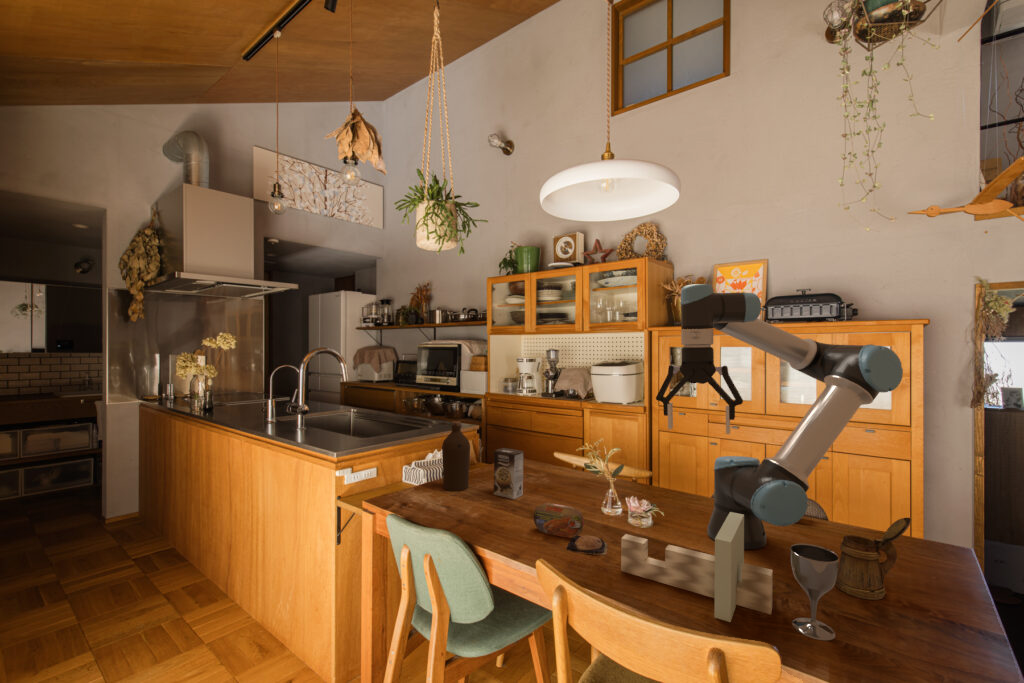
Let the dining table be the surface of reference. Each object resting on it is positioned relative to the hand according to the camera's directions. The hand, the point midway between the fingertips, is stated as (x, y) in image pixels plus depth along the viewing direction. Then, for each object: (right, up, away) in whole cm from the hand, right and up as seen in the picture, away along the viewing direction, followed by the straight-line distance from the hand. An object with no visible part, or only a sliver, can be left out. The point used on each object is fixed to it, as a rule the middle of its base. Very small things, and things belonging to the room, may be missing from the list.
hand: (698, 430), depth 117 cm
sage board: (0, -34, -16) cm, 37 cm away
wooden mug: (+34, -34, -13) cm, 50 cm away
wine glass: (+12, -34, -26) cm, 44 cm away
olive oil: (-68, -33, +60) cm, 97 cm away
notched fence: (-6, -34, -12) cm, 36 cm away
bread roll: (-26, -34, +9) cm, 44 cm away
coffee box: (-48, -33, +51) cm, 78 cm away
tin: (-33, -34, +18) cm, 51 cm away
